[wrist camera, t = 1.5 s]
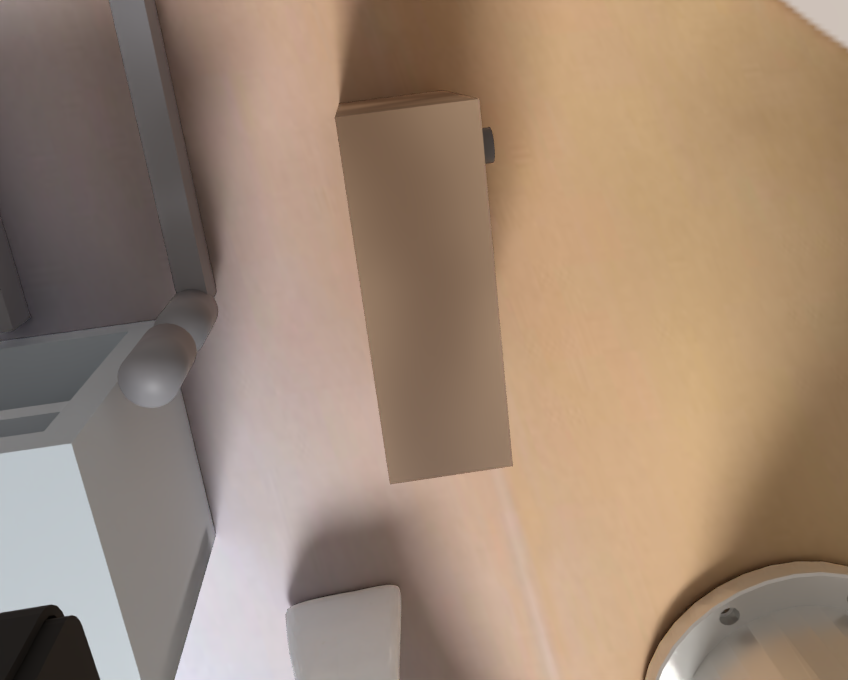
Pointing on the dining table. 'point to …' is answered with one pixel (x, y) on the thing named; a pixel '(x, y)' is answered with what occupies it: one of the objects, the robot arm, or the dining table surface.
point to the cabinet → (113, 425)
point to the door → (428, 279)
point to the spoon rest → (347, 635)
